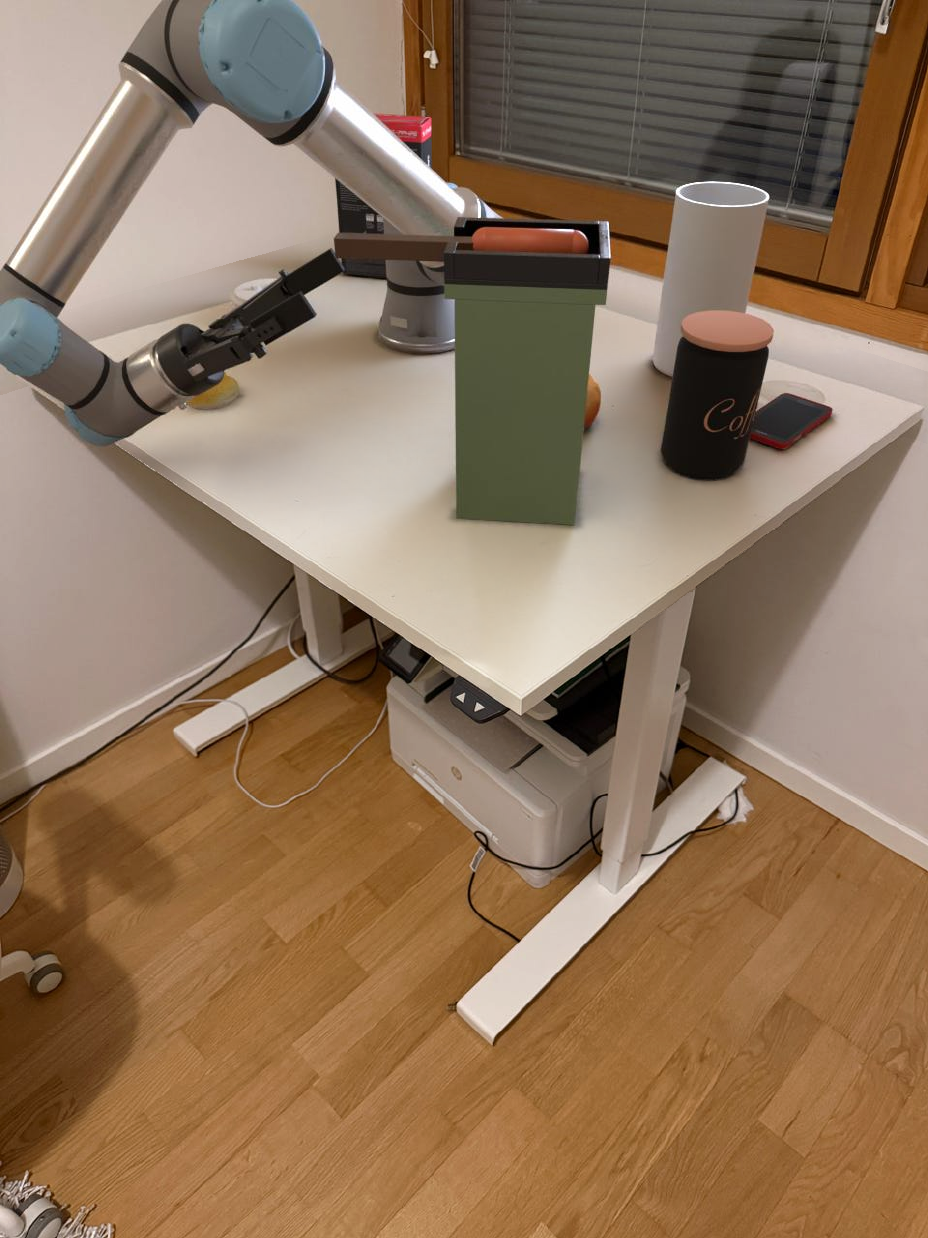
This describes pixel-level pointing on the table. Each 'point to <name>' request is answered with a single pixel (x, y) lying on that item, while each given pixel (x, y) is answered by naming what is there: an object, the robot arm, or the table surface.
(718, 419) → the coffee jar
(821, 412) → the cell phone
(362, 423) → the table surface
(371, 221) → the graphics card box
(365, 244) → the brown orange rod
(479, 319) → the shelf stand
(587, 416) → the fruit
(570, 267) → the black rectangular open tray
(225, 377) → the bread roll
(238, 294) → the lid
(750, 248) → the cylinder vase
